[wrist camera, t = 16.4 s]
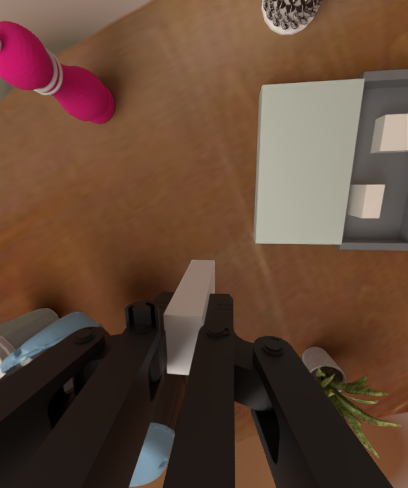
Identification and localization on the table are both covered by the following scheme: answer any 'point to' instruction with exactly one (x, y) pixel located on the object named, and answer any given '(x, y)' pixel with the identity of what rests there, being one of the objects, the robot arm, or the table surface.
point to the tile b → (390, 134)
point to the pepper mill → (51, 75)
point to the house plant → (334, 383)
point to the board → (305, 160)
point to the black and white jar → (289, 14)
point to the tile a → (365, 200)
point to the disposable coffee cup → (23, 330)
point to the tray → (380, 167)
